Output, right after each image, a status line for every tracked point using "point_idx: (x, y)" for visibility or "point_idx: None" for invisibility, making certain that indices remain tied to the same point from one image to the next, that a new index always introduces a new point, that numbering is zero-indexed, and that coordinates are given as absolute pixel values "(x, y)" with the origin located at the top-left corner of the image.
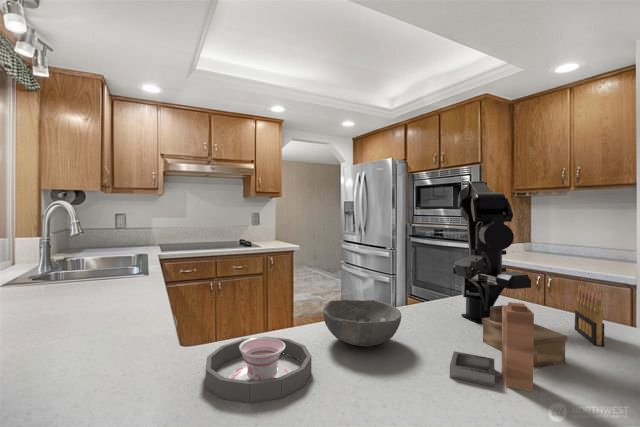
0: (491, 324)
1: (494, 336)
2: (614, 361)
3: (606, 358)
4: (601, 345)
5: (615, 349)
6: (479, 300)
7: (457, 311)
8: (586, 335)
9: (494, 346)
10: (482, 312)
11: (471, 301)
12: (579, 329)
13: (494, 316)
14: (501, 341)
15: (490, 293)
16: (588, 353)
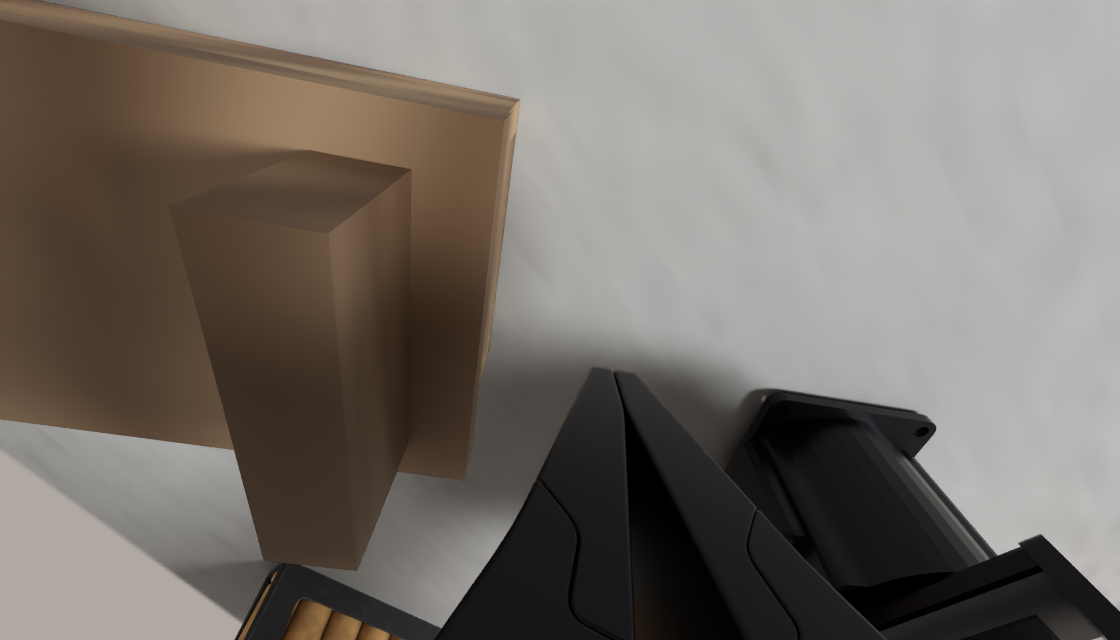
0: (329, 82)
1: (348, 76)
2: (114, 481)
3: (148, 484)
4: (271, 573)
5: (238, 577)
6: (863, 572)
7: (987, 466)
8: (349, 607)
9: (383, 72)
10: (784, 482)
11: (929, 534)
12: (407, 636)
13: (292, 168)
14: (263, 58)
15: (486, 592)
16: (208, 477)
